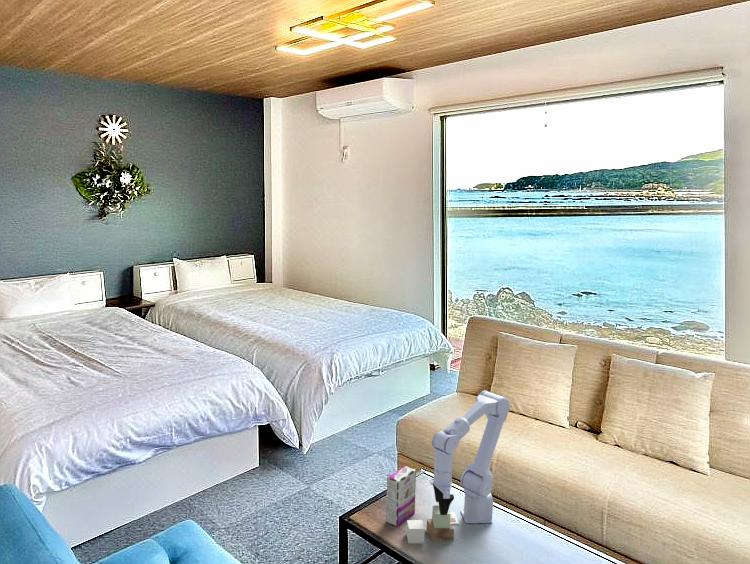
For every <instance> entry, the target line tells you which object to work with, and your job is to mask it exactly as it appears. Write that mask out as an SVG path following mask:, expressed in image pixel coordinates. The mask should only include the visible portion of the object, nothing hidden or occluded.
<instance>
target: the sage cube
mask: <svg viewBox="0 0 750 564" xmlns="http://www.w3.org/2000/svg"><path fill="white" fill-rule="evenodd" d="M450 512H451V511H450V509H449V510H448V513H447V515H440V511H439V505H435V504H434V505H432V512H431V513H432V515H431V519H432V521H433V525H434V528H450Z"/></svg>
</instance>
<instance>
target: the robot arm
mask: <svg viewBox="0 0 750 564" xmlns="http://www.w3.org/2000/svg"><path fill="white" fill-rule="evenodd" d="M510 409H511V403H510V400H509V399H508V398H507V397H506V396H501V395H499V394H495V393H492V392H490V391H488V390H482V391H480V393H479V394H478V395H477V397H476V400H475V403H474V404H473V405H472V407H471V408H470V409H469V410H468V411H467V412H466V413H465V415H463V416H462V417H456V418H455V419H454V420H453V421H452V422H451V423H450V424H448V426H447V427H446V428H444V429H443V430H441V431H436V432H435V433H434V435H433V438H432V439H431V445H432V447H433V453H434V466H433V467H434V471H433V478H432V479H430V481H429V483H430V485H431V486H433V492H434V499H435V502H436V503H438V506H439V511H440V515H447V513H448V510H449V511H450V506H451V504H452V502H453V501H454V499H455V495H454V494H451V489H452V485H453V481H452V480H453V479H452V478H453V477H452V476H453V461H454V458H453V457H454V452H455V451H456V450H457V448H458V445H459V444H460V442H461V439H463V438H464V437H465V436H466V435H467V434H468V433H469V432H470V430H471V428H470V427H471V426H472V425H474V423H476V421H478V420H479V419H480V418H481V417H483V416H484V415H486V416H485V417H486V418H487V422H486V425H485V427H484V431H483V434H482V437H481V439H480V440H481V441H480V444H479V447H478V449H477V452H476V455H475V459H474V461H473V463H471V464H468V465H466V467H465V470H464V472H463V473H462V474H461V476H460V485H461V487H462V488H463V491H464V502H463V503H464V505H463V508H461V509H460V513H461V516H462V518H463V521H464V523H465V524H493V511H494V510H493V509H494V500H493V495H492V490H493V480H494V475H493V474H492V472H491V470H490V466H491V462H492V459H493V456H494V453H495V450H496V447H497V444H498V441H499V438H500V436H501V431H502V428H503V425H504V423H505V422H506V421H507V417H508V414H509V411H510Z"/></svg>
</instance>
